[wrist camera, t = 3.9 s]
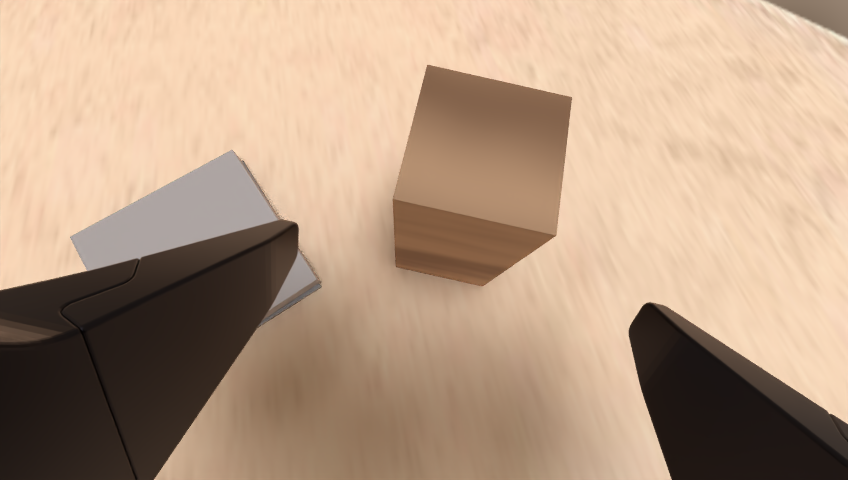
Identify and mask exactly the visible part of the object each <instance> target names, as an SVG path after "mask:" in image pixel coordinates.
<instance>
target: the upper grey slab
mask: <svg viewBox="0 0 848 480" xmlns="http://www.w3.org/2000/svg"><path fill="white" fill-rule="evenodd" d="M277 220H280V219H279V218H278V216H277V215H276V213H275V211H274V210H273V208H272V207H271V205H270V204H269V202H268V201H267V199H266V198H265V196H264V195H263V193H262V192H261V190H260V189H259V187H258V186H257V184H256V183H255V181H254V179H253V178H252V176H251V175H250V173H249V172H248V170H247V169H246V167H245V166H244V164H243V163H242V161H241V160H240V158H239V157H238V156H237V155H236V154H235V152H234V151H233V150H231V151H229V152H227V153H225V154H223V155H221V156H219V157H218V158H216V159H214V160H212V161H210V162H208V163H206V164H205V165H203V166H201V167H199V168H197V169H195V170H193V171H192V172H190V173H188V174H186V175H184V176H182V177H180V178H179V179H177V180H175V181H173V182H171V183H169V184H167V185H166V186H164V187H162V188H160V189H158V190H156V191H154V192H152V193H151V194H149V195H147V196H145V197H143V198H141V199H139V200H138V201H136V202H134V203H132V204H130V205H128V206H126V207H125V208H123V209H121V210H119V211H117V212H115V213H113V214H112V215H110V216H108V217H106V218H104V219H102V220H100V221H99V222H97V223H95V224H93V225H91V226H89V227H87V228H86V229H84V230H82V231H80V232H78V233H76V234H74V235H73V236H71V237H70V238H71V240H72V242H73V244H74V246H75V248H76V250H77V252H78V254H79V256H80V258H81V260H82V262H83V264H84V265H85V267H86V269H87V271H89V270H93V269H97V268H101V267H105V266H109V265H113V264H117V263H120V262H124V261H128V260H131V259H135V258H138V259H140V258H141V257H143V256H147V255H150V254H154V253H158V252H162V251H165V250H169V249H173V248H176V247H180V246H184V245H188V244H191V243H195V242H199V241H202V240H206V239H210V238H214V237H217V236H221V235H225V234H228V233H232V232H236V231H240V230H243V229H247V228H251V227H254V226H258V225H262V224H266V223H269V222H273V221H277ZM319 283H320V280H319V279H318V277H317V275H316V274H315V272H314V271H313V269H312V268H311V266H310V265H309V263H308V262H307V260H306V259H305V257H304V256H303V254H302V253H301V251H300V250H299V248H298V254H297V258H296V260H295V262H294V264H293V266H292V268H291V270H290V272H289V274H288V276H287V278H286V280H285V282H284V284H283V285H282V287H281V289H280V291H279V293H278V295H277V297H276V299H275V301H274V303H273V305H272V306H271V308H270V309H269V311H268V313H267V314H266V316H265V317H264V319H266V318H267V317H269V316H270V315H272V314H273V313H275V312H276V311H278V310H279V309H281V308H282V307H284V306H285V305H287V304H288V303H290V302H291V301H293V300H294V299H296V298H298V297H299V296H301V295H302V294H304V293H305V292H307V291H308V290H310V289H311V288H313V287H314V286H316V285H317V284H319ZM264 319H263V320H264ZM263 320H262V321H263Z"/></svg>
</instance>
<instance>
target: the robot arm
mask: <svg viewBox="0 0 848 480" xmlns="http://www.w3.org/2000/svg"><path fill="white" fill-rule="evenodd" d="M298 233H299V228H298V225H297V223H295V222H292V221H287V220H282V219H281V220H277V221H273V222H269V223H266V224H262V225H258V226H254V227H251V228H247V229H243V230H240V231H236V232H232V233H228V234H225V235H221V236H217V237H214V238H210V239H206V240H202V241H199V242H195V243H191V244H188V245H184V246H180V247H176V248H173V249H169V250H165V251H162V252H158V253H154V254H150V255H147V256H143V257H141V258H140V259H138V258H135V259H131V260H128V261H124V262H120V263H117V264H113V265H109V266H105V267H101V268H97V269H93V270H89V271H85V272H81V273H76V274H72V275H68V276H63V277H59V278H54V279H50V280H46V281H41V282H36V283H32V284H27V285H23V286H18V287H13V288H9V289H4V290H0V480H154V479H155V477H156V476H157V474H158V473H159V471H160V470H161V468H162V467H163V465H164V464H165V463H166V461H167V460H168V458H169V457H170V455H171V454H172V452H173V451H174V449H175V448H176V446H177V445H178V443H179V442H180V441H181V439H182V438H183V436H184V435H185V433H186V432H187V430H188V429H189V427H190V426H191V424H192V423H193V421H194V420H195V418H196V417H197V416H198V414H199V413H200V411H201V410H202V408H203V407H204V405H205V404H206V402H207V401H208V399H209V398H210V396H211V395H212V393H213V392H214V391H215V389H216V388H217V386H218V385H219V383H220V382H221V380H222V379H223V377H224V376H225V374H226V373H227V371H228V370H229V368H230V367H231V366H232V364H233V363H234V361H235V360H236V358H237V357H238V355H239V354H240V352H241V351H242V349H243V348H244V346H245V345H246V344H247V342H248V341H249V339H250V338H251V336H252V335H253V333H254V332H255V330H256V329H257V327H258V326H259V324H260V323H261V321H262V320H263V319H264V317H265V316H266V314H267V313H268V311H269V309H270V308H271V306H272V305H273V303H274V301H275V299H276V297H277V295H278V293H279V291H280V289H281V287H282V285H283V284H284V282H285V280H286V278H287V276H288V274H289V272H290V270H291V268H292V266H293V264H294V262H295V260H296V258H297V254H298ZM629 338H630V343H631V347H632V352H633V356H634V361H635V365H636V369H637V374H638V378H639V382H640V386H641V390H642V393H643V396H644V400H645V403H646V406H647V408H648V411H649V414H650V417H651V420H652V423H653V426H654V429H655V432H656V435H657V438H658V441H659V444H660V447H661V450H662V453H663V456H664V458H665V461H666V464H667V467H668V470H669V473H670V476H671V479H672V480H848V424H847V423H845V422H843V421H842V420H840V419H839V418H837V417H836V416H834V415H832V414H829V413H828V412H827V411H826V410H825V409H823V408H822V407H820V406H819V405H817V404H816V403H814V402H813V401H811V400H809V399H808V398H806V397H805V396H803V395H802V394H800V393H799V392H797V391H796V390H794V389H793V388H791V387H789V386H788V385H786V384H785V383H783V382H782V381H780V380H779V379H777V378H776V377H774V376H773V375H771V374H769V373H768V372H766V371H765V370H763V369H762V368H760V367H759V366H757V365H756V364H754V363H753V362H751V361H749V360H748V359H746V358H745V357H743V356H742V355H740V354H739V353H737V352H736V351H734V350H733V349H731V348H729V347H728V346H726V345H725V344H723V343H722V342H720V341H719V340H717V339H716V338H714V337H713V336H711V335H709V334H708V333H706V332H705V331H703V330H702V329H700V328H699V327H697V326H696V325H694V324H692V323H691V322H689V321H688V320H686V319H685V318H683V317H682V316H680V315H679V314H677V313H676V312H674V311H672V310H671V309H669V308H668V307H666V306H664V305H660V304H656V303H651V302H648V303H646V304H644V305H643V306H642V308H641V309H640V311H639V313H638V314H637V316H636V317H635V319H634V320H633V322H632V323H631V325H630V328H629Z"/></svg>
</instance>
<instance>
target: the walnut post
mask: <svg viewBox="0 0 848 480" xmlns="http://www.w3.org/2000/svg"><path fill="white" fill-rule="evenodd" d="M571 101H572V97H568V96H564V95H559V94H555V93H550V92H546V91H542V90H537V89H533V88H528V87H524V86H520V85H515V84H511V83H506V82H502V81H497V80H493V79H489V78H484V77H480V76H475V75H471V74H466V73H462V72H458V71H453V70H449V69H444V68H440V67H435V66H431V65H427V68H426V72H425V76H424V80H423V84H422V88H421V92H420V95H419V99H418V103H417V107H416V111H415V115H414V119H413V123H412V126H411V130H410V134H409V138H408V142H407V146H406V150H405V154H404V158H403V161H402V165H401V169H400V173H399V177H398V181H397V185H396V189H395V193H394V196H393V213H394V235H395V257H396V267H399V268H403V269H408V270H412V271H416V272H421V273H425V274H430V275H434V276H439V277H443V278H448V279H452V280H457V281H461V282H466V283H470V284H475V285H479V286H484V285H485V284H487V283H488V282H490V281H491V280H492V279H494V278H495V277H497V276H498V275H500V274H501V273H503V272H504V271H505V270H507V269H508V268H510V267H511V266H513V265H514V264H516V263H517V262H519V261H520V260H521V259H523V258H524V257H526V256H527V255H529V254H530V253H532V252H533V251H534V250H536V249H537V248H539V247H540V246H542V245H543V244H545V243H546V242H548V241H549V240H550V239H552V238H553V237H555V236H556V233H557V224H558V215H559V207H560V198H561V189H562V180H563V171H564V163H565V154H566V145H567V136H568V127H569V119H570V110H571Z"/></svg>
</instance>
